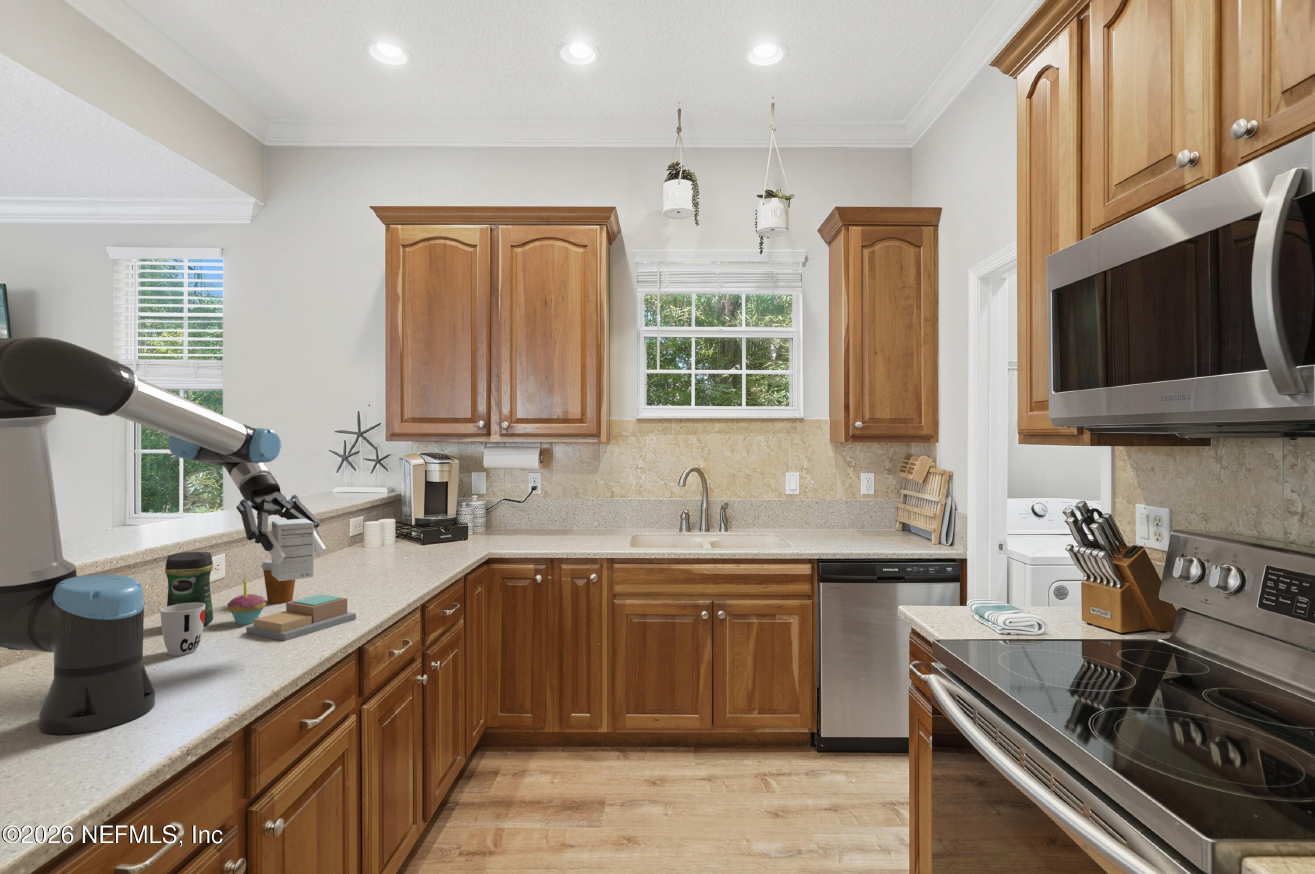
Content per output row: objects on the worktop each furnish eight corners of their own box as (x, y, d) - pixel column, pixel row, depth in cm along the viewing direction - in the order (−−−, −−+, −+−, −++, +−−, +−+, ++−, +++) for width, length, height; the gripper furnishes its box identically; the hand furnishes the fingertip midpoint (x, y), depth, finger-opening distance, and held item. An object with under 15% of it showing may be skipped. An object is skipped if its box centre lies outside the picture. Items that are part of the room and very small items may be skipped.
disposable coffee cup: (266, 598, 192) (266, 557, 192) (302, 596, 195) (302, 556, 195) (256, 606, 183) (257, 563, 183) (294, 604, 186) (295, 562, 186)
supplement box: (270, 575, 148) (271, 520, 148) (306, 571, 153) (307, 518, 153) (276, 581, 142) (277, 524, 142) (314, 577, 147) (314, 521, 147)
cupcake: (262, 625, 166) (262, 577, 166) (222, 628, 162) (223, 580, 162) (268, 616, 173) (268, 571, 173) (231, 619, 170) (231, 573, 170)
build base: (285, 640, 153) (285, 616, 153) (246, 632, 159) (246, 609, 159) (355, 619, 171) (356, 597, 171) (318, 612, 177) (318, 591, 177)
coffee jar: (217, 620, 170) (218, 548, 170) (204, 628, 162) (204, 554, 162) (174, 622, 167) (175, 550, 167) (159, 631, 160) (159, 555, 160)
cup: (181, 659, 140) (181, 613, 140) (150, 656, 142) (150, 610, 142) (214, 647, 148) (214, 603, 148) (184, 645, 149) (184, 601, 149)
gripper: (291, 490, 164) (335, 558, 157) (199, 497, 144) (245, 576, 137) (306, 469, 162) (351, 538, 155) (215, 474, 142) (262, 553, 135)
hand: (302, 556), depth 146 cm, fingers closed on supplement box, 9 cm apart
